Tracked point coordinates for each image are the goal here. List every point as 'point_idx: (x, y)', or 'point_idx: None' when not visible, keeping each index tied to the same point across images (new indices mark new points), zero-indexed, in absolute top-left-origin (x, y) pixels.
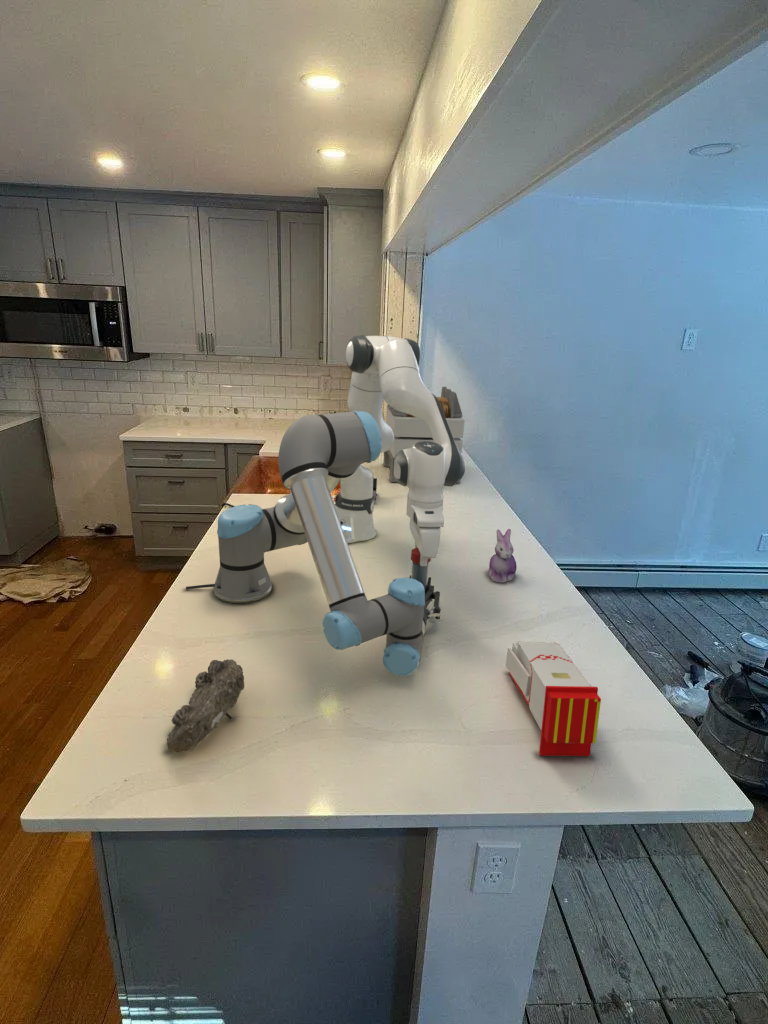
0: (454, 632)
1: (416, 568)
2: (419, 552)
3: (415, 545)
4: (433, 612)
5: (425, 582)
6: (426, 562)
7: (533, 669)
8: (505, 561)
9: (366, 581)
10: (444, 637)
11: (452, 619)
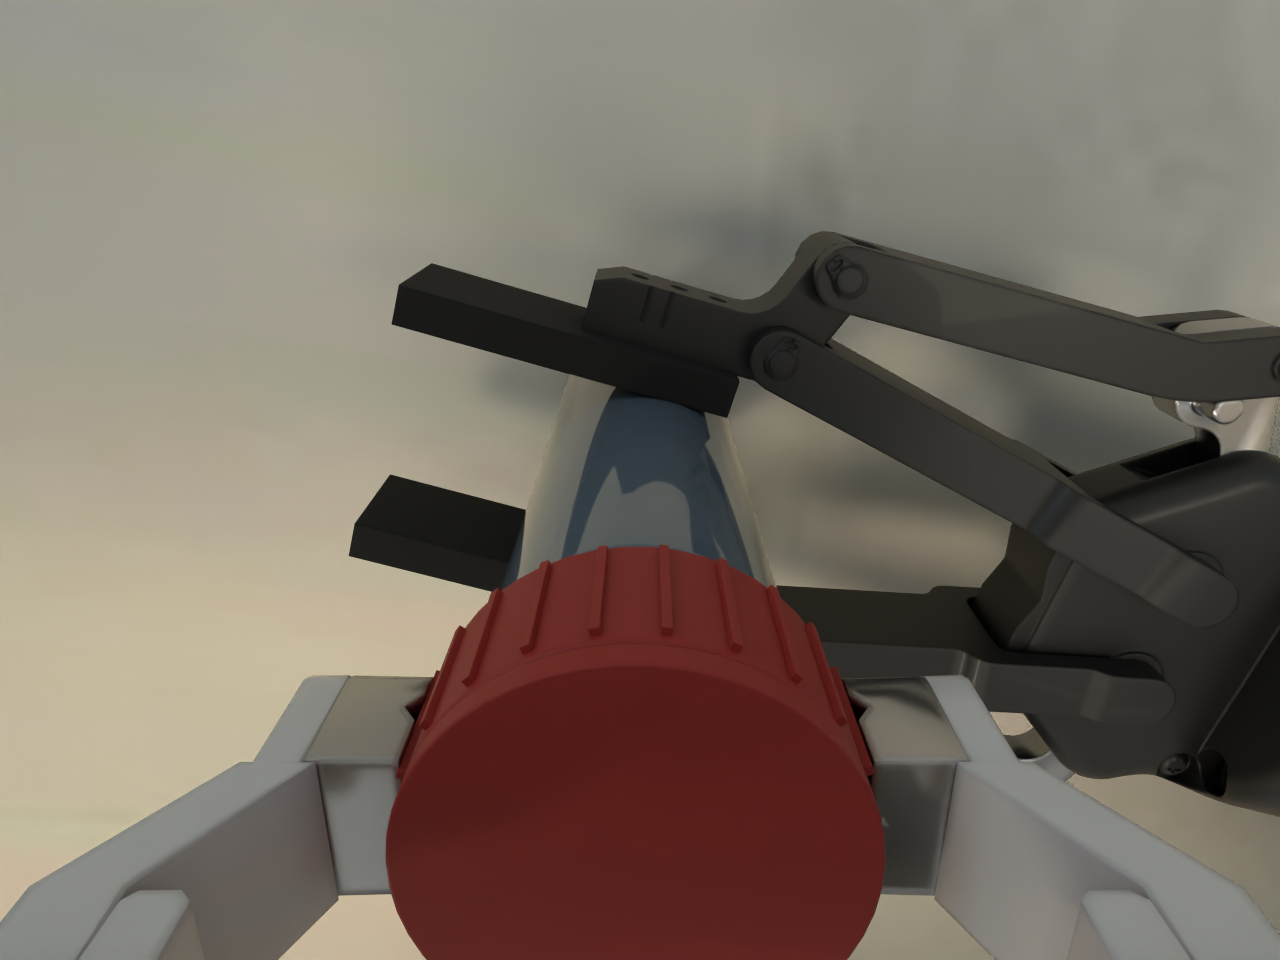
0: (1059, 88)
1: None
2: (705, 919)
3: (281, 950)
4: (1254, 410)
5: (727, 458)
6: (987, 727)
7: None
8: None
9: (104, 732)
10: (1120, 213)
11: (814, 48)
